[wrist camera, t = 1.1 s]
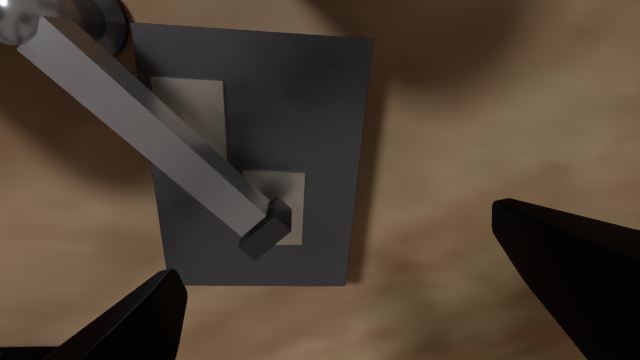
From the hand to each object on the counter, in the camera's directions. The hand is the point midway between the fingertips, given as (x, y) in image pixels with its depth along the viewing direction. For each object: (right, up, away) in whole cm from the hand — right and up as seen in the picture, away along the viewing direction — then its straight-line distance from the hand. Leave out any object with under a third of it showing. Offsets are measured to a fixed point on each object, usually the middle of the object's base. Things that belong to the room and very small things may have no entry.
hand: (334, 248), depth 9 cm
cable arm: (-8, +6, +10) cm, 14 cm away
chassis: (-4, +3, +12) cm, 13 cm away
